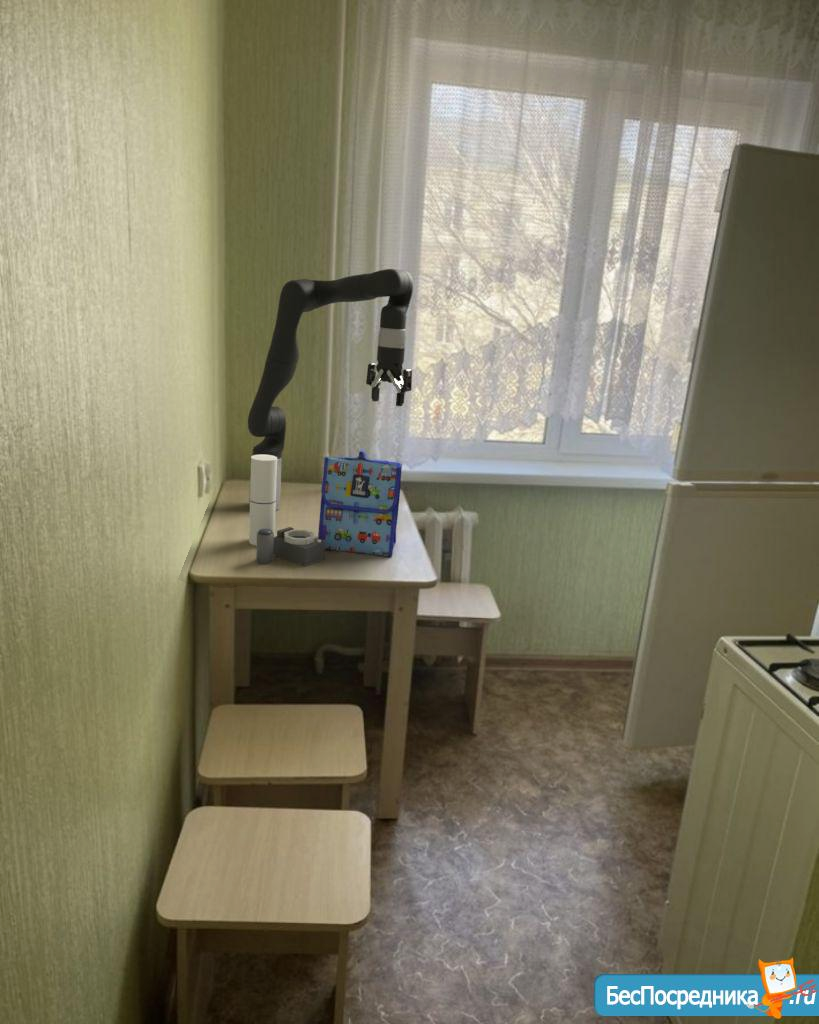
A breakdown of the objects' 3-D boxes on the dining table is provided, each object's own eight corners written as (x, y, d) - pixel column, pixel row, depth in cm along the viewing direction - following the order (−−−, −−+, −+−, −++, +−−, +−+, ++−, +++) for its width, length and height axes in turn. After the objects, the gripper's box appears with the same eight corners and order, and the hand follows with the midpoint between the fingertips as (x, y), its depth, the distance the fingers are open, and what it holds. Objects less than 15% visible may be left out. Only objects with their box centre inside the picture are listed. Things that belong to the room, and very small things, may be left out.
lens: (252, 560, 205) (253, 530, 202) (264, 556, 208) (265, 527, 206) (264, 565, 202) (265, 534, 200) (276, 561, 206) (277, 531, 203)
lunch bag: (316, 550, 217) (322, 451, 208) (324, 535, 230) (330, 441, 221) (392, 558, 216) (401, 459, 207) (396, 542, 229) (404, 448, 220)
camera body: (272, 554, 210) (273, 531, 208) (292, 547, 217) (293, 525, 215) (305, 566, 204) (306, 543, 202) (324, 558, 211) (325, 536, 209)
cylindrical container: (250, 546, 215) (252, 460, 207) (248, 537, 221) (250, 454, 214) (275, 546, 217) (278, 460, 209) (272, 537, 223) (275, 454, 216)
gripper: (362, 342, 211) (359, 400, 215) (403, 348, 203) (399, 408, 208) (379, 341, 217) (375, 398, 221) (420, 347, 209) (415, 406, 213)
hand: (387, 403), depth 214 cm, fingers open, 8 cm apart
